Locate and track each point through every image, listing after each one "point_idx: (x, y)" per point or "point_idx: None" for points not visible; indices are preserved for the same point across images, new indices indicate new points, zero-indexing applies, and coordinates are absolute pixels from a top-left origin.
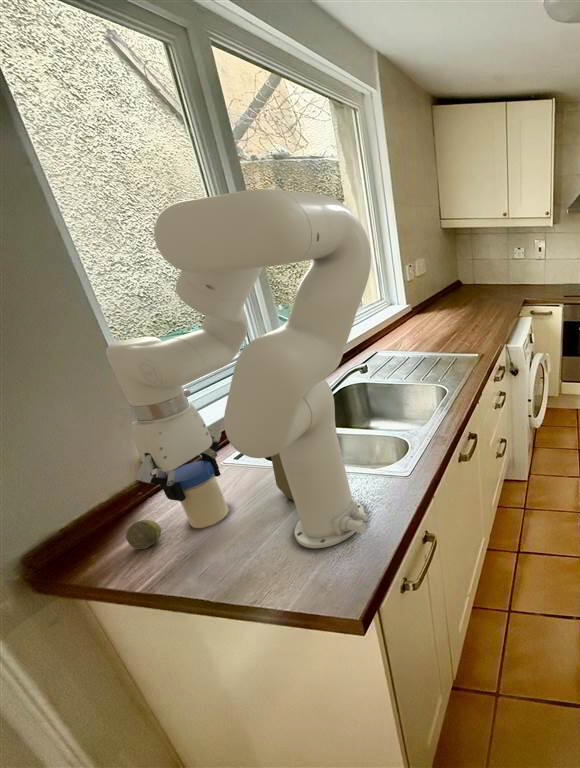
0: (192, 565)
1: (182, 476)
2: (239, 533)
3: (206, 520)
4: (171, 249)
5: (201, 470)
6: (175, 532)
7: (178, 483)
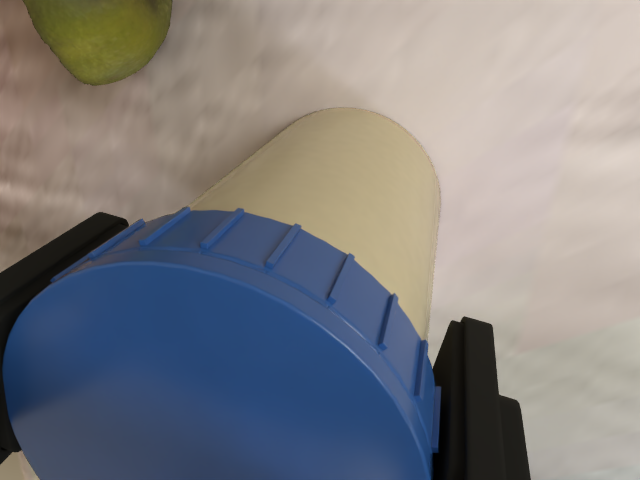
0: None
1: (99, 443)
2: None
3: None
4: None
5: None
6: (224, 82)
7: (14, 450)
